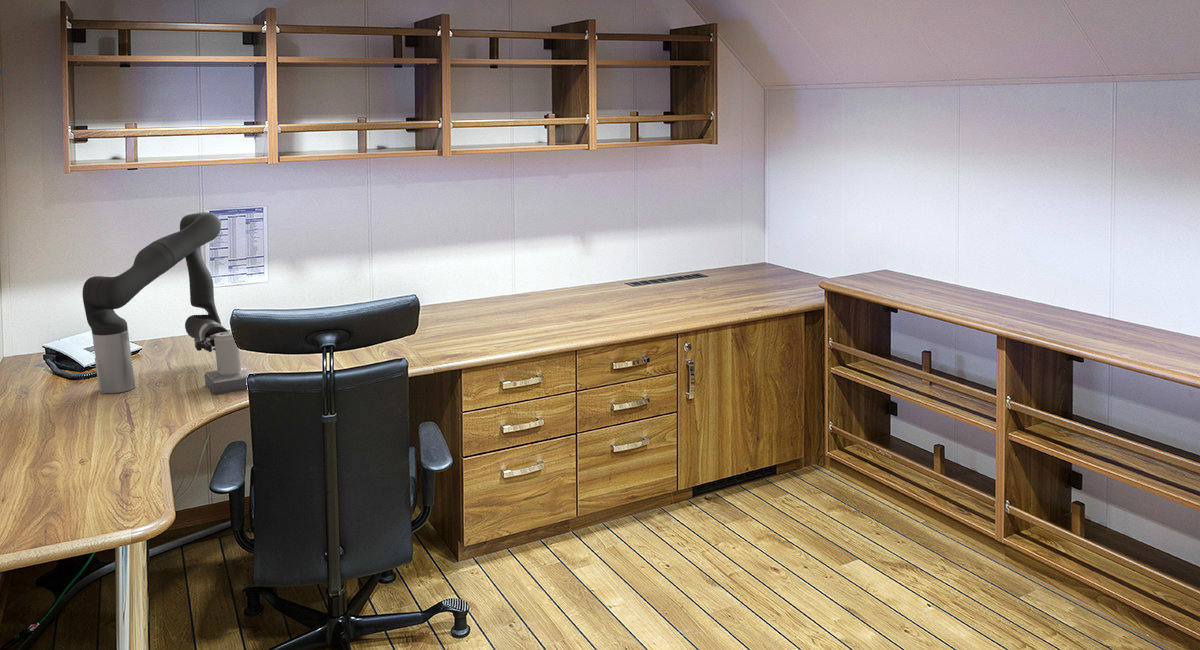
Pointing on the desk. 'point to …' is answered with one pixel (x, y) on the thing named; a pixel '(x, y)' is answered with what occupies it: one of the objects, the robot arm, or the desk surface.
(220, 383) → the stand
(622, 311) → the desk surface
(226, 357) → the beverage can
